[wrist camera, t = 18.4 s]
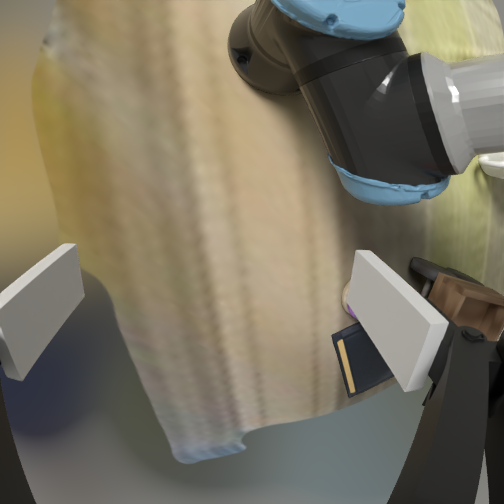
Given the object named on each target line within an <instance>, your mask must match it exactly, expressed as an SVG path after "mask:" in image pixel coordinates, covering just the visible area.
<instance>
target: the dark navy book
mask: <svg viewBox="0 0 504 504" xmlns="http://www.w3.org/2000/svg"><path fill="white" fill-rule="evenodd" d="M332 340H333V344H334V347H335V350H336V353H337V357H338V360H339V364H340V367H341V371H342V375H343V378H344V382H345V386H346V390H347V393H348V397H349V398H351V397H353V396H355V395H357V394H360V393H362V392H364V391H366V390H368V389H370V388H372V387H374V386H376V385H378V384H380V383H382V382H384V381H386V380H388V379H390V378H392V377H394V374H393V373H392V371H391V369H390V368H389V366H388V365H387V363H386V362H385V360H384V358H383V357H382V355H381V354H380V352H379V351H378V349H377V347H376V346H375V344H374V343H373V341H372V340H371V338H370V337H369V335H368V334H367V332H366V331H365V329H364V328H363V326H362V324H361V323H360V322H358V323H356V324H354V325H351V326H349V327H347V328H345V329H343V330H341V331H339V332H337V333H335V334H333V335H332Z"/></svg>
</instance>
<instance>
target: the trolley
mask: <svg viewBox="0 0 504 504" xmlns="http://www.w3.org/2000/svg"><path fill="white" fill-rule="evenodd" d="M410 267H411V268H412V269H414V270H415V271H417V272H418V273H420V274H422V275H424V276H426V277H428V278H427V280H426V283H425V285H424V287H423V290H422V292H421V294H420V295H422V296H424V297H426V296H427V294H428V292H429V289H430V287H431V285H432V283H433V280H434V281H435V283H434V285H433V288H432V290H431V292H430V294H429V297H428V299H429V300H431V301H432V302H433V303H434V304H435V305H436V306H437V308H439V309H440V310H441V311H442V313H445V314H446V315H447V316H448V317H449V318H450V319H451V320H452V321H453V322H454V323H455V324H456V325H457V326H458V327H459V326H469V327H473V328H476V329H478V330H479V331H481V332H482V333H483V334H484V335H485V336H486V337H487V340H488V341H497V339H498V337H499V335H500V333H501V331H502V329H503V327H504V296H502V295H501V294H499V293H498V292H496V291H494V290H493V289H490V288H487V287H485V286H484V285H483V284H481V283H480V282H478V281H477V280H475V279H473V278H472V277H470V276H468V275H466V274H464V273H461V272H459V271H457V270H454V269H451V268H447V270H446V269H444V268H442V267H440V266H438V265H436V264H434V263H432V262H429V261H427V260H424V259H421V258H418V257H414V258H413V260H412V263H411V265H410Z"/></svg>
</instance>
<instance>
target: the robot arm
mask: <svg viewBox="0 0 504 504" xmlns="http://www.w3.org/2000/svg"><path fill="white" fill-rule="evenodd" d="M404 8H405V0H256V2H255V4H253V5H251V6H249V7H248V8H246V9H245V10H244V11H242V12H241V13H240V14H239V16H238V17H237V18H236V20H235V21H234V23H233V25H232V27H231V30H230V33H229V37H228V53H229V57H230V60H231V63H232V65H233V66H234V68H235V70H236V71H237V72H238V74H239V75H240V76H241V77H242V78H243V79H244V80H245V81H246V82H248V83H249V84H250V85H252V86H253V87H255V88H257V89H259V90H261V91H264V92H267V93H271V94H276V95H294V94H298V93H302V94H303V96H304V98H305V100H306V103H307V105H308V107H309V109H310V111H311V113H312V116H313V118H314V120H315V122H316V124H317V127H318V129H319V131H320V134H321V136H322V138H323V141H324V143H325V145H326V148H327V150H328V152H329V153H328V158H329V160H330V163H331V164H332V165H333V166H334V168H335V169H336V171H337V173H338V176H339V178H340V180H341V183H342V185H343V187H344V188H345V189H346V191H348V192H349V193H350V194H351V195H352V196H353V197H355V198H356V199H358V200H361V201H363V202H366V203H370V204H375V205H387V206H396V205H408V204H414V203H418V202H420V200H421V199H431V198H433V197H436V196H438V195H439V194H441V193H442V192H443V191H444V190H445V189H446V188H447V186H448V184H449V180H450V177H451V175H458V174H462V173H464V171H465V170H466V168H467V167H468V165H469V163H470V162H471V160H472V159H473V158H474V157H475V156H476V155H482V154H491V153H500V152H504V53H501V54H495V55H489V56H483V57H477V58H472V59H467V60H462V61H457V62H452V63H450V62H445V61H443V60H441V59H440V58H438V57H436V56H434V55H432V54H430V53H429V52H422V53H418V54H415V55H411V56H410V55H409V54H408V52H407V50H406V48H405V45H404V43H403V41H402V39H401V37H400V35H399V33H398V31H397V28H399V25H400V24H401V22H402V20H403V18H404V12H403V9H404ZM84 296H85V295H84V290H83V284H82V278H81V271H80V265H79V258H78V250H77V244H62V245H61V246H60V247H58V248H57V249H56V250H54V251H53V252H52V253H50V254H49V255H48V256H47V257H45V258H44V259H42V260H41V261H40V262H38V263H37V264H36V265H35V266H33V267H32V268H31V269H29V270H28V271H27V272H26V273H25V274H23V275H22V276H21V277H19V278H18V279H17V280H16V281H15V282H13V283H12V284H11V285H10V286H8V287H7V288H6V289H5V290H4V291H3V292H1V293H0V365H2V367H3V369H4V371H5V373H6V376H7V377H9V378H13V379H16V380H20V381H23V379H24V378H25V376H26V375H27V373H28V372H29V370H30V369H31V367H32V366H33V364H34V363H35V361H36V360H37V359H38V357H39V356H40V354H41V353H42V352H43V350H44V349H45V347H46V346H47V345H48V343H49V342H50V341H51V339H52V338H53V337H54V335H55V334H56V333H57V331H58V330H59V329H60V327H61V326H62V324H63V323H64V322H65V321H66V319H67V318H68V316H69V315H70V314H71V313H72V312H73V310H74V309H75V308H76V307H77V305H78V304H79V303H80V301H81V300H82V299H83V298H84ZM347 304H348V305H349V306H350V308H351V309H352V311H353V312H354V314H355V315H356V317H357V318H358V320H359V321H360V323H361V324H362V326H363V328H364V329H365V331H366V332H367V334H368V335H369V337H370V338H371V340H372V341H373V343H374V344H375V346H376V347H377V349H378V351H379V352H380V354H381V355H382V357H383V358H384V360H385V362H386V363H387V365H388V366H389V368H390V369H391V371H392V373H393V374H394V376H395V377H396V379H397V381H398V382H399V384H400V385H401V387H402V389H403V390H404V392H408V391H412V390H418V389H422V388H423V385H424V383H425V381H426V379H427V377H428V375H429V377H430V378H431V379H432V381H433V384H432V386H431V388H430V390H429V392H428V394H427V396H426V398H425V400H424V402H423V404H422V405H423V406H425V407H424V410H423V414H422V417H421V420H420V423H419V426H418V429H417V432H416V435H415V438H414V440H413V443H412V446H411V448H410V451H409V454H408V456H407V459H406V461H405V464H404V467H403V469H402V471H401V474H400V476H399V478H398V481H397V483H396V485H395V487H394V490H393V492H392V494H391V496H390V498H389V500H388V502H387V504H474V503H475V499H476V494H477V489H478V485H479V479H480V474H481V468H482V461H483V454H484V449H485V457H486V466H487V474H488V475H487V476H488V488H489V504H504V330H503V332H502V334H501V336H500V339H499V341H488V340H487V337H486V336H485V335H484V334H483V333H482V332H481V331H479V330H478V329H476V328H473V327H469V326H459V327H458V326H457V325H456V324H455V323H454V322H453V321H452V320H451V319H450V318H449V317H448V316H447V315H446V314H445V313H442V311H441V310H440V309H439V308H437V306H436V305H435V304H434V303H433V302H432V301H431V300H429V299H427V298H426V297H424V296H422V295H420V294H419V293H418V292H417V291H415V290H414V289H413V288H412V287H411V286H410V285H409V284H408V283H407V282H406V281H404V280H403V279H402V278H401V277H400V276H399V275H398V274H397V273H396V272H394V271H393V270H392V269H391V268H390V267H389V266H388V265H386V264H385V263H384V262H383V261H382V260H381V259H380V258H378V257H377V256H376V255H375V254H374V253H373V252H371V251H370V250H356V252H355V258H354V264H353V270H352V276H351V281H350V287H349V292H348V298H347ZM0 504H36V502H35V500H34V498H33V495H32V492H31V490H30V487H29V485H28V482H27V479H26V476H25V474H24V471H23V468H22V465H21V462H20V459H19V456H18V453H17V449H16V446H15V443H14V439H13V435H12V432H11V428H10V424H9V420H8V416H7V411H6V407H5V402H4V397H3V392H2V386H1V380H0Z"/></svg>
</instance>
